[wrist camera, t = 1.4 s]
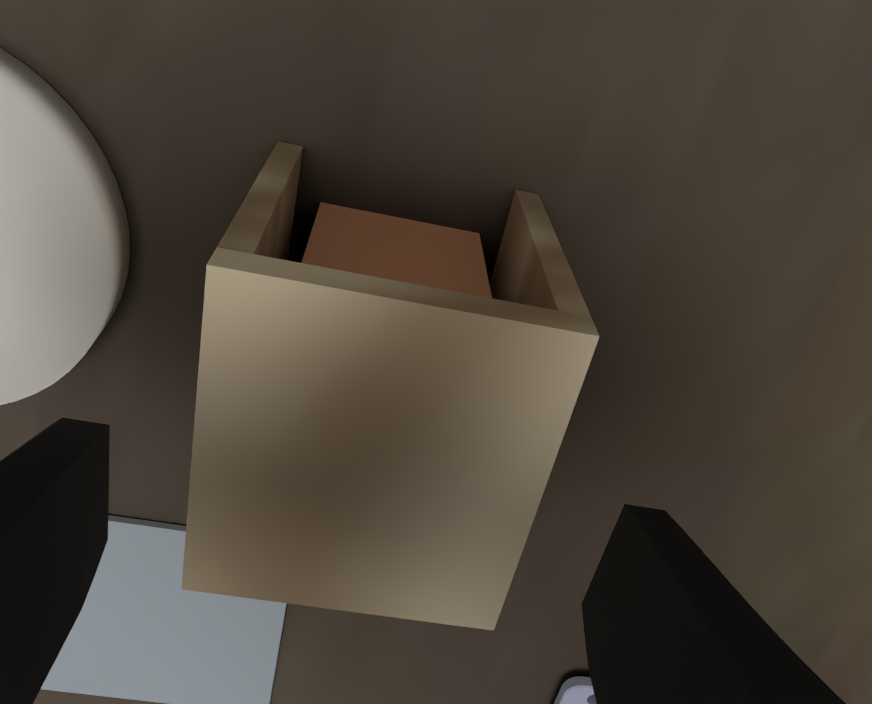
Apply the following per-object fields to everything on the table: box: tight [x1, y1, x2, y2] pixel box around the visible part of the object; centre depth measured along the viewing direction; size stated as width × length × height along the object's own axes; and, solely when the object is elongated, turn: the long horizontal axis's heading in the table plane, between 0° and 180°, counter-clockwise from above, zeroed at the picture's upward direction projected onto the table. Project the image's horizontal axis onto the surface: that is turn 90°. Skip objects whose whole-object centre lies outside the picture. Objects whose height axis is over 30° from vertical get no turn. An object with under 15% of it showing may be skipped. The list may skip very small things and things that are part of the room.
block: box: [302, 202, 492, 298], centre depth 15 cm, size 3×3×5 cm
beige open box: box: [181, 141, 600, 631], centre depth 15 cm, size 5×6×6 cm
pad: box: [41, 515, 287, 704], centre depth 22 cm, size 7×7×1 cm
